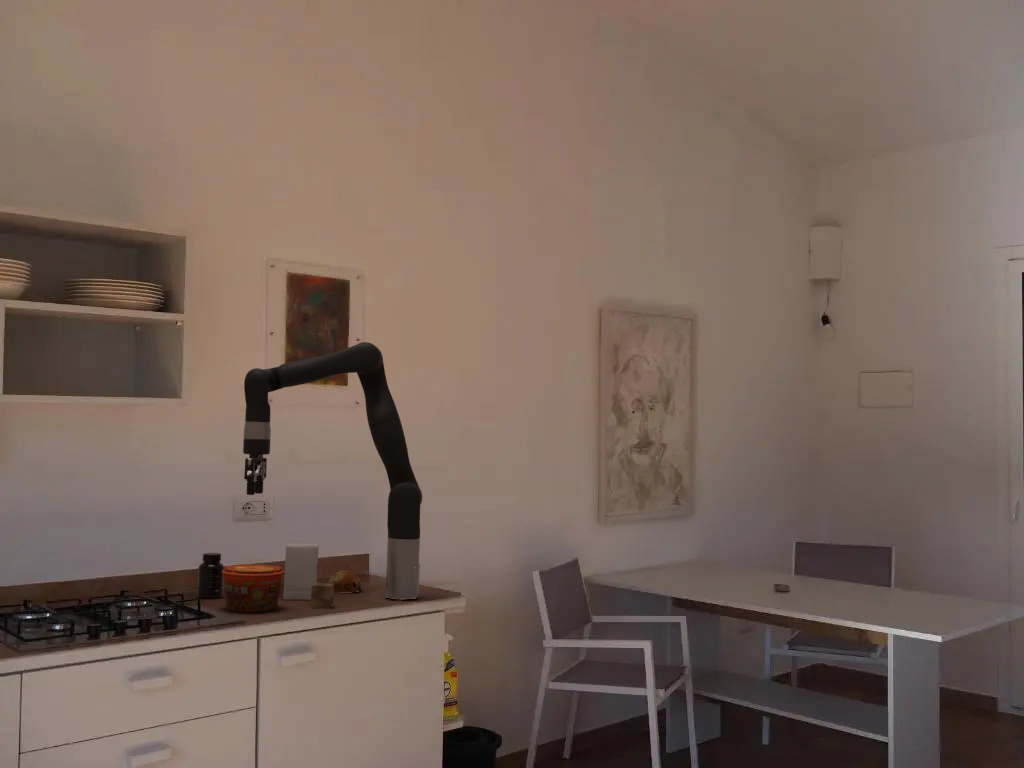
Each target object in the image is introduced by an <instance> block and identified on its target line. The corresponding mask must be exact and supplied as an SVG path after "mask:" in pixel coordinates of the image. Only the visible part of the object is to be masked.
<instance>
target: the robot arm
mask: <svg viewBox="0 0 1024 768" xmlns="http://www.w3.org/2000/svg"><path fill="white" fill-rule="evenodd" d="M385 370H386V369H385V365H384V359H383V354H382V352H381V350H380V349H379V347H377V345H375V344H373V343H371V342H367V341H363V342H359V343H357V344H355V345H352V346H349V347H346V348H344V349H342V350H339V351H335V352H333V353H329V354H325V355H320V356H315V357H310V358H309V357H308V358H304V359H299V360H294V361H290V362H289V361H288V362H285V363H282V364H280V365H278V366H275V367H270V368H269V367H268V368H264V369H263V368H258V367H257V368H252V369H250V370H249V371H247V373H246V375H245V377H244V380H243V381H244V384H243V385H244V386H243V389H244V399H245V400H244V401H245V415H244V416H245V417H244V418H245V419H244V421H245V422H244V428H243V444H242V445H243V447H242V454H244V455H249V456H248V457H245V458H244V476H243V478H244V480H245V481H246V495H248V496H254V495H256V494H263V493H264V481H265V479H266V478H267V463H268V461H267V460H268V459H267V457H264V456H265V455H267V456H268V455H270V453H271V436H272V435H271V434H272V433H271V431H272V428H271V404H270V403H269V393H271V392H276V391H279V390H281V389H284V388H290V387H291V388H292V387H295V386H300V385H305V384H309V383H310V384H311V383H313V382H316V381H318V380H321V379H325V378H328V377H331V376H335V375H341V374H353V373H356V374H357V377H358V379H359V381H360V384H361V387H362V390H363V394H364V401H365V411H366V418H367V423H368V428H369V431H370V435H371V439H372V441H373V445H374V447H375V448H376V451H377V454H378V455H379V458H380V459H381V462H382V464H383V467H384V468H385V471H386V474H387V479H388V482H389V483H388V484H389V489H390V490H389V493H388V498H387V520H386V521H387V522H386V523H387V548H386V549H387V550H386V568H385V569H386V570H385V572H386V576H385V590H384V591H385V594H384V595H385V596H386V597H388V598H397V599H400V598H411V597H417V596H418V594H420V593H419V592H420V590H419V589H420V572H421V571H420V570H421V569H420V568H421V564H420V545H421V523H420V522H421V504H422V501H423V493H422V490H421V488H420V486H419V483H418V480H417V478H416V476H415V473H414V471H413V469H412V466H411V462H410V457H409V451H408V446H407V442H406V437H405V432H404V428H403V425H402V422H401V421H402V420H401V418H400V416H399V411H398V410H397V406H396V403H395V400H394V398H393V396H392V394H391V391H390V388H389V385H388V381H387V375H386V372H385ZM385 596H384V597H385Z"/></svg>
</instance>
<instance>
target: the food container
mask: <svg viewBox="0 0 1024 768" xmlns="http://www.w3.org/2000/svg"><path fill="white" fill-rule="evenodd" d="M223 574H224V579H223V586H224V597H225V609H226V610H227V611H229V612H233V613H239V614H259V613H268V612H272V611H275V610H277V608H278V603H279V602H278V601H279V596H280V591H281V586H282V585H281V584H282V578H283V575H285V569H283V568H282V567H281V566H278V565H270V564H247V563H246V564H235V565H227V566H224V570H223V571H222V575H223Z"/></svg>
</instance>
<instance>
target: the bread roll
mask: <svg viewBox="0 0 1024 768" xmlns="http://www.w3.org/2000/svg"><path fill="white" fill-rule="evenodd" d="M361 581H362V580H361V579H360V578H359V577H358V576H357V575H356V574H354V573H353V572H350V571H349V570H339V571H338V572H335V573H333V574H332V575H331V576H330V577H329V578H328V580H327V581H326V583H330V584H334V592H356V591H360V592H361V591H362V588H361V587H363V586H364V585H363V584H362V582H361Z"/></svg>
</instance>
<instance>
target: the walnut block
mask: <svg viewBox="0 0 1024 768" xmlns="http://www.w3.org/2000/svg"><path fill="white" fill-rule="evenodd" d="M334 594H335V593H334V584H330V583H327V582H326V583H325V582H324V583H323V582H317V583H315V584H313V585H312V589H311V600H310V609H317V608H330V607H331V606H332V605H333V606H334V596H335V595H334ZM333 606H332V607H333ZM332 607H331V608H332ZM331 608H330V609H331Z"/></svg>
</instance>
